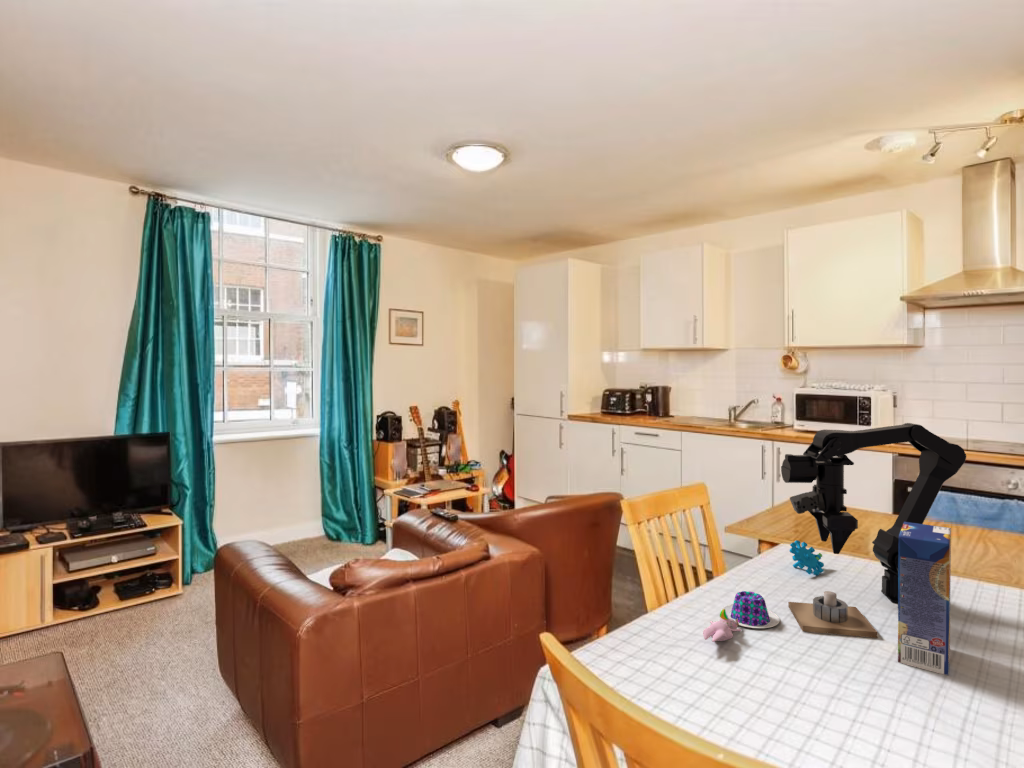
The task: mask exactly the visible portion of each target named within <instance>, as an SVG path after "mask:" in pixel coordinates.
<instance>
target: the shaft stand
mask: <svg viewBox="0 0 1024 768" xmlns="http://www.w3.org/2000/svg"><path fill="white" fill-rule="evenodd" d="M823 596H824V605H826V606H830V607H837V599H838V597H837V596H838V595H837V593H836V592H833V591H832V590H831V591H830V590H827V591H826V590H825V591H823ZM787 607H788V608H789V610H790V612H791V614H792V615H793V618H794V619H795V621H796V622H797V624H798V626H799V627H800V629H801V632H805V633H806V632H807V633H815V634H817V633H818V634H827V635H839V636H840V635H841V636H853V637H863V638H874V639H878V631H877V630H876V628H874V626H873V625H872V624H871V623H870V622H869V620H868V619H867V618H866V617H865V616H864V615H863V613H862V612H861V611H860V610H859V609H858V607H856V606H851V605H850V606H848V619H847V621H846V622H843V623H832V622H827V621H824V620H821V619H819V618H817V617H815V616H814V614H813V603H811V602H808V603H807V602H798V601H796V602H795V601H788V605H787Z"/></svg>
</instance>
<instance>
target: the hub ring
mask: <svg viewBox="0 0 1024 768" xmlns="http://www.w3.org/2000/svg"><path fill="white" fill-rule="evenodd" d="M812 604H813V614H814V616H815V617H817V618H819V619H821V620H824V621H827V622H832V623H843V622H846V621H847V619H848V604H847V602H845V601H844V600H842V599H840V598H837V607H830V606H826V605H824V595H821V596H820V595H819V596H816V597H815V596H814V598H812Z"/></svg>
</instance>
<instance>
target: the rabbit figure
mask: <svg viewBox="0 0 1024 768" xmlns="http://www.w3.org/2000/svg"><path fill="white" fill-rule="evenodd" d="M721 610H722V609H721ZM721 610H720V613H719V618H720V619H719V620H717V621H712V620H710V622H709V623H710V625H709V626H708V627H705V628H704V629H703V631H702V636H703V639H704V641H706V640H708V639H710V638H712V640H711V641H712V642H713V643H714V642H716V641H718V642H722V641H728V640H731V639H732V638H733V637H734V635H733V632H741V631H742V629H741V628H738V626H740V625H739V622H738V618H737V619H736V620H735V619H733V618H731V619H729V618H728V616H727V614H726V611H725V609H723V610H722V611H721ZM732 619H733V620H732Z"/></svg>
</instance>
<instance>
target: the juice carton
mask: <svg viewBox="0 0 1024 768" xmlns="http://www.w3.org/2000/svg"><path fill="white" fill-rule="evenodd" d="M951 543H952V527H946V526H939V525H931V524H924V523H923V524H918V523H910V522H904V523H903V526H902V529H901V531H900V534H899V563H898V603H897V606H898V607H897V611H898V612H897V613H898V614H897V662H898V663H899V664H904V665H908V666H911V667H914V668H918V669H923V670H926V671H930V672H933V673H937V674H940V675H943V676H949V668H950V654H951V653H950V652H951V651H950V650H951V577H952V576H951V572H952V571H951V570H952V569H951V566H952V565H951V558H952V555H951V554H952V551H951V550H952V549H951V548H952V544H951Z"/></svg>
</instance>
